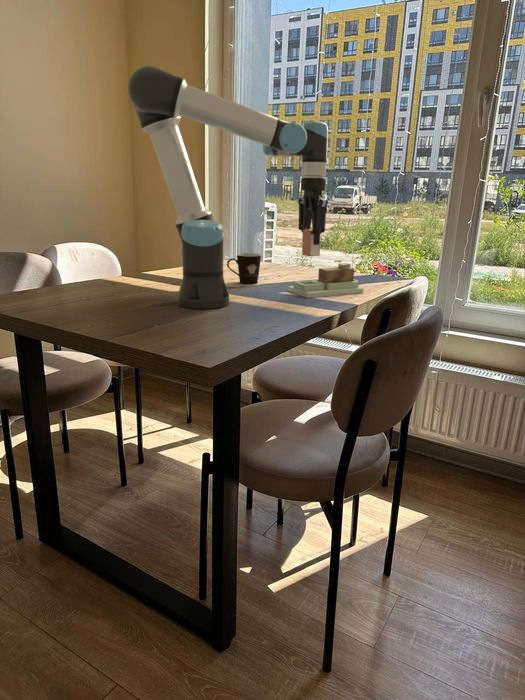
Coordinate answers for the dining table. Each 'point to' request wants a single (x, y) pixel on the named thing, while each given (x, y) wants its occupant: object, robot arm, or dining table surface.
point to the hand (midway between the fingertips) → (310, 254)
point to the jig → (318, 288)
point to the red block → (307, 242)
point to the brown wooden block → (336, 274)
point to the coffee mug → (247, 267)
